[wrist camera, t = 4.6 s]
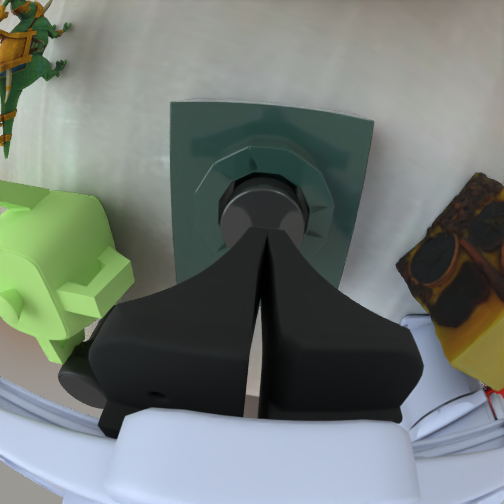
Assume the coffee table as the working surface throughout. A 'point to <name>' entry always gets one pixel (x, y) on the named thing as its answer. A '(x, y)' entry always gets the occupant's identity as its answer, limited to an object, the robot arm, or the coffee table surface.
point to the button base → (265, 174)
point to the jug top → (262, 210)
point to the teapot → (57, 265)
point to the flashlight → (83, 373)
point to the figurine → (23, 58)
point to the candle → (465, 279)
